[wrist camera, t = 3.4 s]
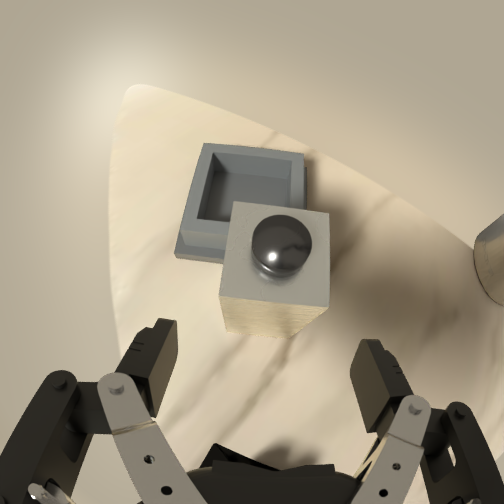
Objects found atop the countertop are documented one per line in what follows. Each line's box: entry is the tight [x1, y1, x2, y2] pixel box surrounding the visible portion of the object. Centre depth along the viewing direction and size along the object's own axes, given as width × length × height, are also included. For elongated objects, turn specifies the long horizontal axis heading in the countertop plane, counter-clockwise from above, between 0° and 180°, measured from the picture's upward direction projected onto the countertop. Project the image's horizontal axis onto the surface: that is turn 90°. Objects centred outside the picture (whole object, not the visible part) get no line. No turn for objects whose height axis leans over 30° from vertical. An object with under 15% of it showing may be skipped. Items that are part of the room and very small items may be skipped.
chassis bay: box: [174, 143, 307, 264], centre depth 23 cm, size 10×10×4 cm
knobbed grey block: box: [219, 201, 330, 339], centre depth 16 cm, size 4×4×11 cm
